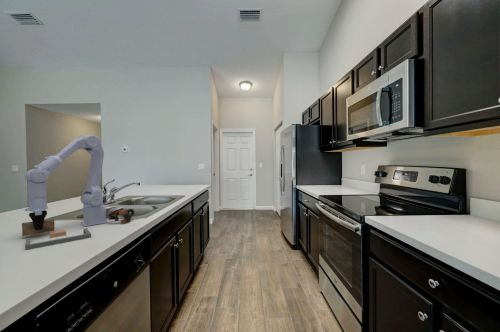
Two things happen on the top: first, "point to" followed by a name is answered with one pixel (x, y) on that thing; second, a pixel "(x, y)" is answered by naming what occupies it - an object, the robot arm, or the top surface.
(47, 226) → the brown wooden board
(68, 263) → the top surface
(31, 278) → the top surface
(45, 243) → the bay
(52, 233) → the tile
